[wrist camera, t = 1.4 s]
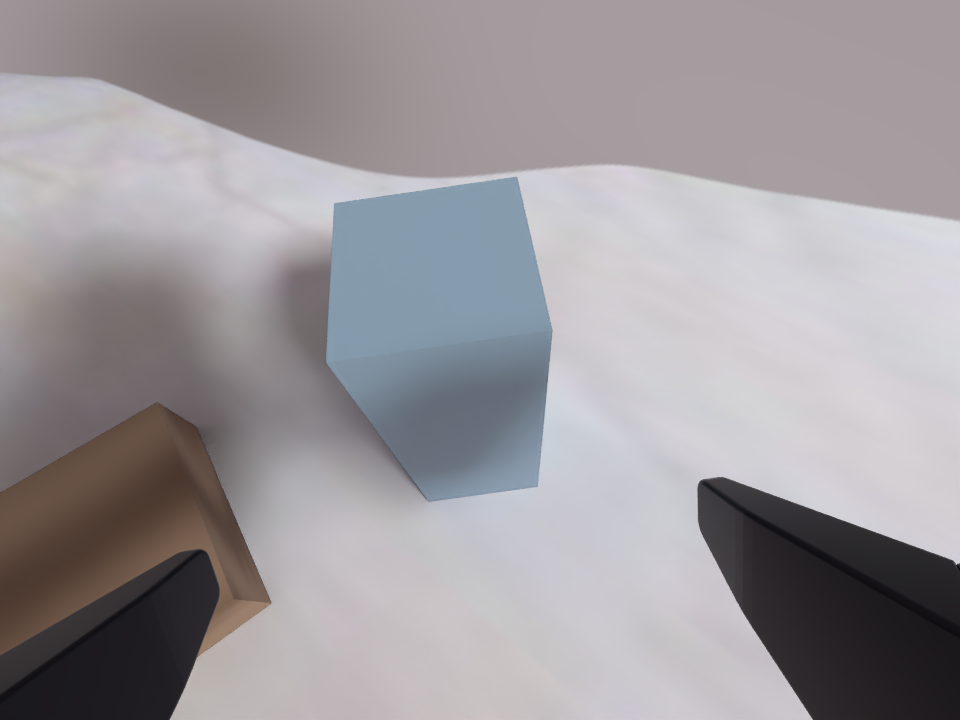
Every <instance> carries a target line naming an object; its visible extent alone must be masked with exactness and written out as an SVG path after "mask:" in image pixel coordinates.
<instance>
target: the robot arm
mask: <svg viewBox="0 0 960 720" xmlns="http://www.w3.org/2000/svg"><path fill="white" fill-rule="evenodd" d="M698 523H699V527H700V530H701V533H702V535H703V537H704V539H705V541H706V543H707V545H708V547H709V549H710V551H711V553H712V555H713V557H714V558H715V560H716V562H717V564H718V566H719V568H720V570H721V572H722V574H723V576H724V578H725V580H726V582H727V584H728V585H729V587H730V589H731V591H732V593H733V595H734V597H735V599H736V601H737V603H738V604H739V606H740V608H741V610H742V612H743V613H744V615H745V616H746V618H747V620H748V621H749V623H750V624H751V626H752V628H753V629H754V631H755V632H756V634H757V635H758V637H759V638H760V640H761V641H762V643H763V644H764V646H765V647H766V649H767V650H768V652H769V653H770V655H771V656H772V658H773V660H774V661H775V663H776V664H777V666H778V667H779V669H780V670H781V672H782V673H783V675H784V676H785V678H786V679H787V681H788V682H789V684H790V685H791V687H792V688H793V690H794V692H795V693H796V695H797V696H798V698H799V699H800V701H801V702H802V704H803V705H804V707H805V708H806V710H807V711H808V713H809V714H810V716H811V717H812V719H813V720H960V563H959V564H957V565H956V563H955V562H954V561H953V560H950V559H948V558H945V557H942V556H939V555H937V554H934V553H931V552H928V551H926V550H923V549H920V548H917V547H915V546H912V545H909V544H906V543H903V542H901V541H898V540H895V539H892V538H890V537H887V536H884V535H881V534H879V533H876V532H873V531H870V530H868V529H865V528H862V527H859V526H857V525H854V524H851V523H848V522H846V521H843V520H840V519H837V518H835V517H832V516H829V515H826V514H823V513H821V512H818V511H815V510H812V509H810V508H807V507H804V506H801V505H799V504H796V503H793V502H790V501H788V500H785V499H782V498H779V497H777V496H774V495H771V494H768V493H766V492H763V491H760V490H757V489H755V488H752V487H749V486H746V485H744V484H741V483H738V482H735V481H733V480H730V479H727V478H724V477H717V478H710V479H703V480H701V481H700V482H699V484H698ZM219 595H220V588H219V583H218V580H217V577H216V574H215V571H214V569H213V566H212V563H211V560H210V557H209V555H208V553H207V552H206V551H205V550H203V549H196V550H189V551H182V552H179V553H177V554H175V555H173V556H172V557H170V558H168V559H166V560H165V561H163V562H161V563H159V564H158V565H156V566H154V567H153V568H151V569H149V570H147V571H146V572H144V573H142V574H140V575H139V576H137V577H135V578H133V579H132V580H130V581H128V582H126V583H125V584H123V585H121V586H120V587H118V588H116V589H114V590H113V591H111V592H109V593H107V594H106V595H104V596H102V597H100V598H99V599H97V600H95V601H93V602H92V603H90V604H88V605H86V606H85V607H83V608H81V609H80V610H78V611H76V612H74V613H73V614H71V615H69V616H67V617H66V618H64V619H62V620H60V621H59V622H57V623H55V624H53V625H52V626H50V627H48V628H47V629H45V630H43V631H41V632H40V633H38V634H36V635H34V636H33V637H31V638H29V639H27V640H26V641H24V642H22V643H20V644H19V645H17V646H15V647H13V648H12V649H10V650H8V651H7V652H5V653H3V654H1V655H0V720H170V718H171V716H172V714H173V712H174V710H175V708H176V706H177V704H178V701H179V699H180V697H181V695H182V693H183V690H184V688H185V686H186V684H187V681H188V679H189V676H190V674H191V671H192V669H193V666H194V664H195V661H196V658H197V656H198V653H199V650H200V648H201V645H202V643H203V640H204V637H205V635H206V632H207V629H208V627H209V624H210V622H211V619H212V616H213V614H214V611H215V608H216V606H217V603H218V600H219Z"/></svg>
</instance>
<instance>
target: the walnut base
mask: <svg viewBox="0 0 960 720" xmlns="http://www.w3.org/2000/svg"><path fill="white" fill-rule="evenodd" d="M196 549H203V550H205V551H206V552H207V553H208V555H209V557H210V560H211V563H212V566H213V569H214V571H215V574H216V577H217V580H218V583H219V588H220V595H219V600H218V603H217V606H216V608H215V611H214V614H213V616H212V619H211V622H210V624H209V627H208V629H207V632H206V635H205V637H204V640H203V643H202V645H201V648H200V650H199V653H198V656H199V655H200V654H202V653H203V652H205V651H206V650H207V649H209V648H210V647H212V646H213V645H214V644H216V643H217V642H218V641H220V640H221V639H223V638H224V637H225V636H227V635H228V634H230V633H231V632H232V631H234V630H235V629H236V628H238V627H239V626H241V625H242V624H243V623H245V622H246V621H248V620H249V619H250V618H252V617H253V616H255V615H256V614H257V613H259V612H260V611H261V610H263V609H264V608H266V607H267V606H268V605H270V604H271V601H270V599H269V596H268V594H267V592H266V589H265V587H264V585H263V582H262V580H261V578H260V575H259V573H258V571H257V568H256V566H255V564H254V561H253V559H252V557H251V554H250V552H249V549H248V547H247V545H246V542H245V540H244V538H243V535H242V533H241V531H240V528H239V526H238V524H237V521H236V519H235V517H234V514H233V512H232V510H231V507H230V505H229V503H228V500H227V498H226V496H225V493H224V491H223V489H222V486H221V484H220V482H219V479H218V477H217V475H216V472H215V470H214V467H213V465H212V463H211V460H210V458H209V456H208V453H207V451H206V449H205V446H204V444H203V442H202V439H201V437H200V435H199V432H198V430H197V428H196V426H194V425H193V424H191V423H190V422H188V421H186V420H185V419H183V418H182V417H180V416H178V415H177V414H175V413H174V412H172V411H170V410H169V409H167V408H165V407H164V406H162V405H161V404H159V403H155V404H153V405H151V406H150V407H148V408H146V409H145V410H143V411H141V412H139V413H138V414H136V415H134V416H132V417H131V418H129V419H127V420H126V421H124V422H122V423H120V424H119V425H117V426H115V427H114V428H112V429H110V430H108V431H107V432H105V433H103V434H101V435H100V436H98V437H96V438H95V439H93V440H91V441H89V442H88V443H86V444H84V445H82V446H81V447H79V448H77V449H76V450H74V451H72V452H70V453H69V454H67V455H65V456H63V457H62V458H60V459H58V460H57V461H55V462H53V463H51V464H50V465H48V466H46V467H44V468H43V469H41V470H39V471H38V472H36V473H34V474H32V475H31V476H29V477H27V478H25V479H24V480H22V481H20V482H19V483H17V484H15V485H13V486H12V487H10V488H8V489H6V490H5V491H3V492H1V493H0V655H1V654H3V653H5V652H7V651H8V650H10V649H12V648H13V647H15V646H17V645H19V644H20V643H22V642H24V641H26V640H27V639H29V638H31V637H33V636H34V635H36V634H38V633H40V632H41V631H43V630H45V629H47V628H48V627H50V626H52V625H53V624H55V623H57V622H59V621H60V620H62V619H64V618H66V617H67V616H69V615H71V614H73V613H74V612H76V611H78V610H80V609H81V608H83V607H85V606H86V605H88V604H90V603H92V602H93V601H95V600H97V599H99V598H100V597H102V596H104V595H106V594H107V593H109V592H111V591H113V590H114V589H116V588H118V587H120V586H121V585H123V584H125V583H126V582H128V581H130V580H132V579H133V578H135V577H137V576H139V575H140V574H142V573H144V572H146V571H147V570H149V569H151V568H153V567H154V566H156V565H158V564H159V563H161V562H163V561H165V560H166V559H168V558H170V557H172V556H173V555H175V554H177V553H179V552H182V551H189V550H196ZM198 656H197V657H198Z"/></svg>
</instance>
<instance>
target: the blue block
mask: <svg viewBox="0 0 960 720" xmlns="http://www.w3.org/2000/svg"><path fill="white" fill-rule="evenodd" d="M551 340H552V326H551V322H550V318H549V313H548V309H547V305H546V300H545V296H544V292H543V287H542V283H541V279H540V274H539V270H538V265H537V261H536V257H535V252H534V248H533V244H532V239H531V235H530V231H529V226H528V222H527V218H526V213H525V209H524V205H523V200H522V196H521V192H520V187H519V183H518V179H517V177H512V178H505V179H498V180H492V181H485V182H478V183H471V184H464V185H457V186H450V187H443V188H437V189H430V190H423V191H416V192H409V193H402V194H395V195H389V196H382V197H375V198H368V199H361V200H354V201H347V202H340V203H334V217H333V236H332V255H331V274H330V293H329V312H328V331H327V350H326V363H327V365H328V366H329V367H330V369H331V370H332V371H333V373H334V374H335V376H336V377H337V378H338V380H339V381H340V382H341V384H342V385H343V386H344V388H345V389H346V390H347V392H348V393H349V394H350V396H351V397H352V399H353V400H354V401H355V403H356V404H357V405H358V407H359V408H360V409H361V411H362V412H363V413H364V415H365V416H366V418H367V419H368V420H369V422H370V423H371V424H372V426H373V427H374V428H375V430H376V431H377V432H378V434H379V435H380V436H381V438H382V439H383V441H384V442H385V443H386V445H387V446H388V447H389V449H390V450H391V451H392V453H393V454H394V455H395V457H396V458H397V459H398V461H399V462H400V464H401V465H402V466H403V468H404V469H405V470H406V472H407V473H408V474H409V476H410V477H411V478H412V480H413V481H414V482H415V484H416V485H417V487H418V488H419V489H420V491H421V492H422V493H423V495H424V496H425V497H426V499H427V500H428V501H429V502H430V501H437V500H444V499H452V498H459V497H466V496H473V495H481V494H488V493H495V492H502V491H510V490H517V489H524V488H531V487H538V477H539V467H540V456H541V446H542V435H543V425H544V414H545V404H546V393H547V382H548V372H549V361H550V351H551Z"/></svg>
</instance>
